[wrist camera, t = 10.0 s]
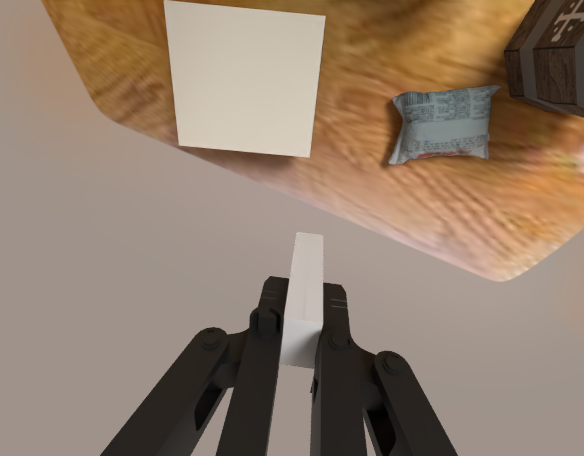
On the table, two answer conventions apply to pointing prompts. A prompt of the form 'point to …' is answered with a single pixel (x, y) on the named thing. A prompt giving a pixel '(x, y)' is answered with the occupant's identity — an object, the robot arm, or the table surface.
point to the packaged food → (443, 123)
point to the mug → (549, 57)
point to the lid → (244, 77)
